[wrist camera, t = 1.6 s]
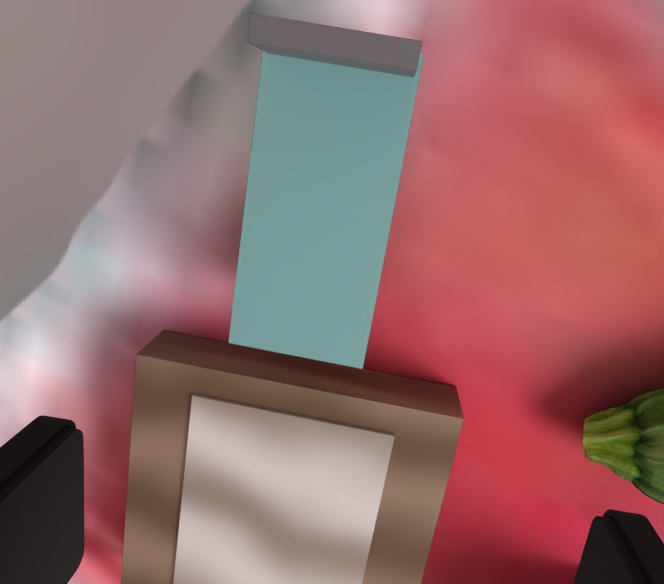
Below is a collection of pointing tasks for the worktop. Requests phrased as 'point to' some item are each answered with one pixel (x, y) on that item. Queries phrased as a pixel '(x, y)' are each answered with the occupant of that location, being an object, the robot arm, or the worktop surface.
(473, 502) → the worktop surface
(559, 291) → the worktop surface
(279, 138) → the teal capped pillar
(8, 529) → the robot arm
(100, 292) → the worktop surface
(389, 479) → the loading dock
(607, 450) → the vegetable
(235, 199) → the worktop surface
